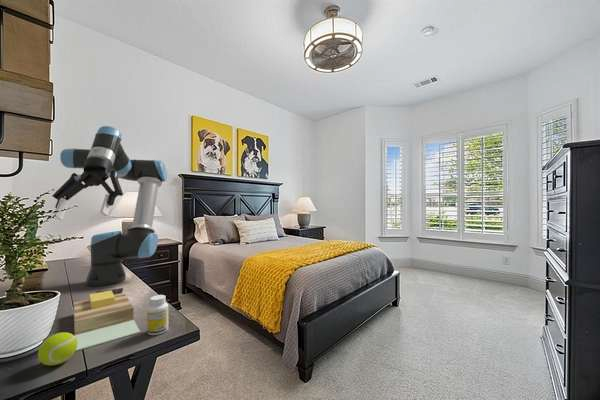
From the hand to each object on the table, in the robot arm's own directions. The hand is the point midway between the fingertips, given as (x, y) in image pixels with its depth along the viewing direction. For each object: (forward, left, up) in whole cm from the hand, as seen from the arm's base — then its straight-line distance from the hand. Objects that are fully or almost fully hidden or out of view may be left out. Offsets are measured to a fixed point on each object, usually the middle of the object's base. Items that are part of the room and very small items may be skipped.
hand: (81, 216), depth 81 cm
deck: (+1, +6, -33) cm, 33 cm away
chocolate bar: (-20, +9, -34) cm, 40 cm away
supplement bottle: (+23, +17, -33) cm, 43 cm away
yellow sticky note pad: (-2, +6, -29) cm, 30 cm away
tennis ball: (+24, -4, -33) cm, 41 cm away
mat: (+15, +6, -33) cm, 37 cm away
